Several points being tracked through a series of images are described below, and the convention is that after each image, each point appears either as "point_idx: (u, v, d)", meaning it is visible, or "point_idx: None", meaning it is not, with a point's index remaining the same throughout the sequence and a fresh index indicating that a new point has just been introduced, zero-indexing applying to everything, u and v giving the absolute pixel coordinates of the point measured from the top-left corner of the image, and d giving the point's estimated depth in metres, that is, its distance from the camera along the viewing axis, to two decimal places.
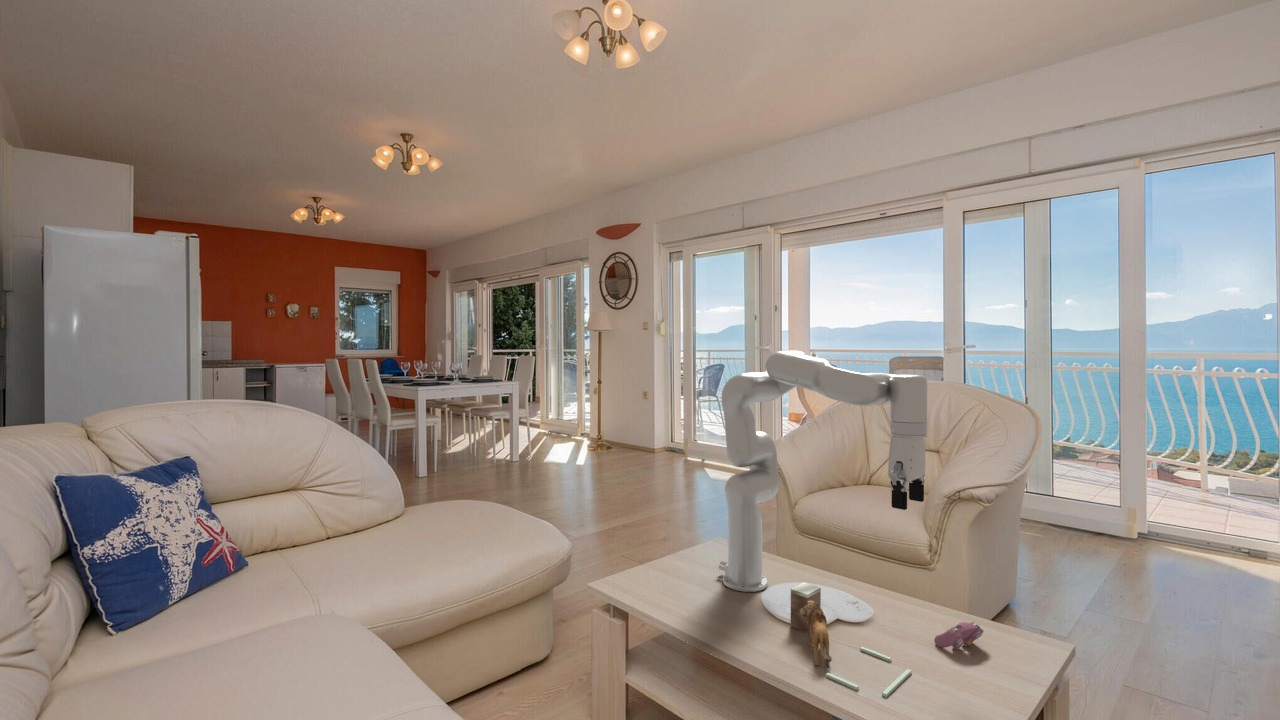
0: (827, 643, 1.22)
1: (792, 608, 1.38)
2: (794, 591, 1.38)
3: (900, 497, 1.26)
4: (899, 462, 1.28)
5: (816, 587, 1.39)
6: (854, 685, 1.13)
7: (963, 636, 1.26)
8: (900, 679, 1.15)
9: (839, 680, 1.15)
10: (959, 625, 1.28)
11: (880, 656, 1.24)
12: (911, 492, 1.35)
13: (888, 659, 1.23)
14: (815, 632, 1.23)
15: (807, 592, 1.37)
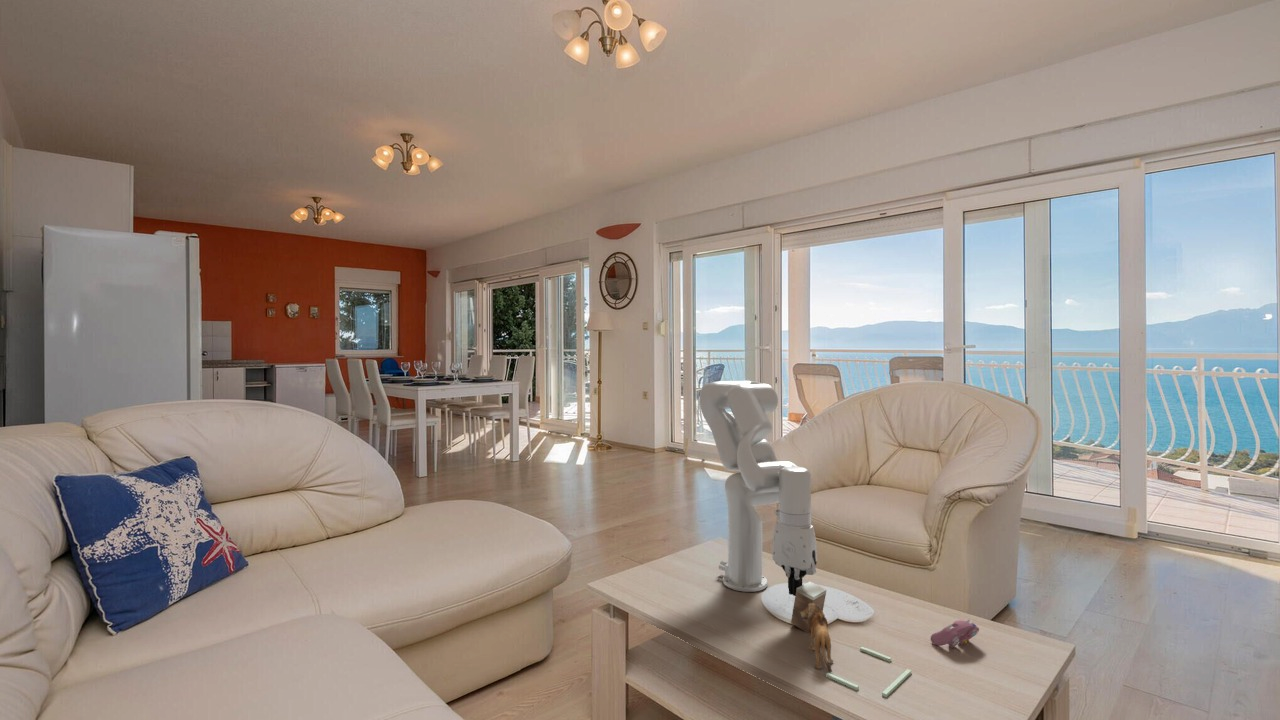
0: (829, 646, 1.21)
1: (795, 606, 1.38)
2: (800, 591, 1.37)
3: None
4: None
5: (822, 589, 1.38)
6: (854, 685, 1.13)
7: (959, 634, 1.27)
8: (900, 679, 1.15)
9: (839, 680, 1.15)
10: (955, 623, 1.28)
11: (880, 656, 1.24)
12: None
13: (888, 659, 1.23)
14: (817, 635, 1.22)
15: (813, 594, 1.35)
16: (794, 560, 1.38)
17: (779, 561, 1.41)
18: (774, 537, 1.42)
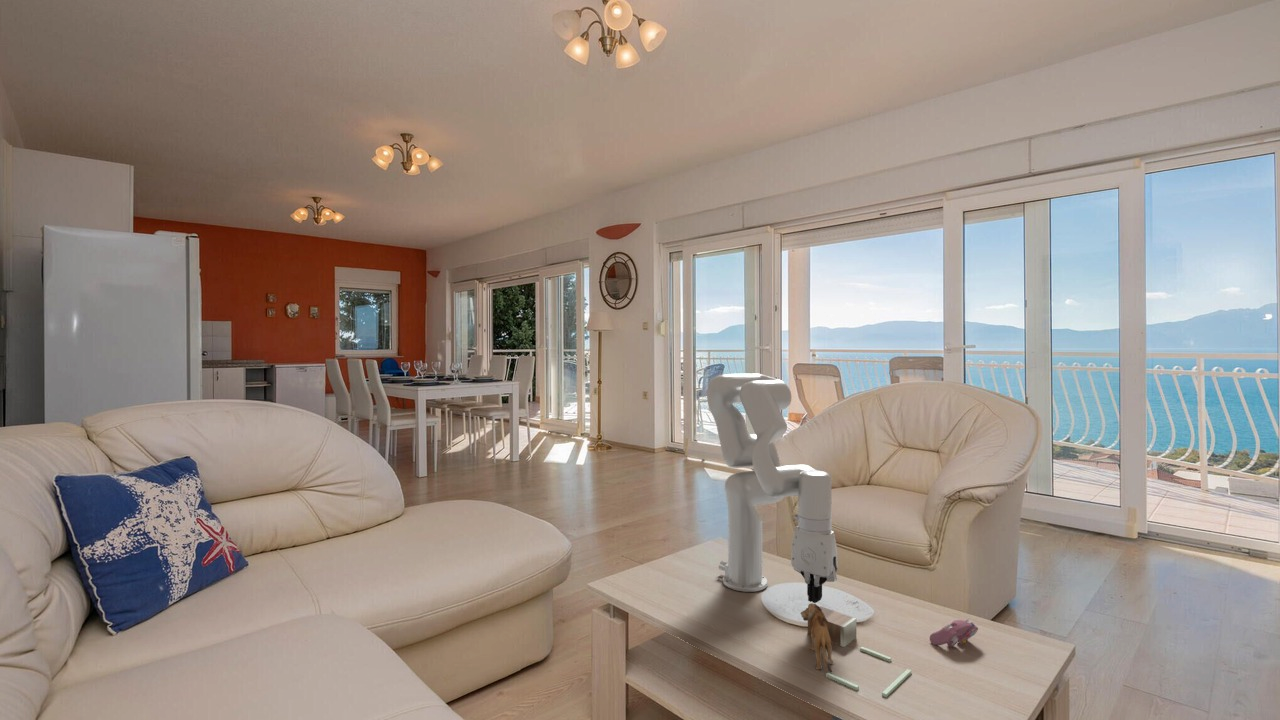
0: (829, 647, 1.21)
1: None
2: (842, 631, 1.29)
3: (821, 589, 1.37)
4: None
5: (854, 636, 1.32)
6: (854, 685, 1.13)
7: (958, 634, 1.27)
8: (900, 679, 1.15)
9: (839, 680, 1.15)
10: (954, 623, 1.29)
11: (880, 656, 1.24)
12: None
13: (888, 659, 1.23)
14: (817, 636, 1.22)
15: (846, 642, 1.30)
16: (814, 567, 1.34)
17: (798, 567, 1.37)
18: (793, 543, 1.38)
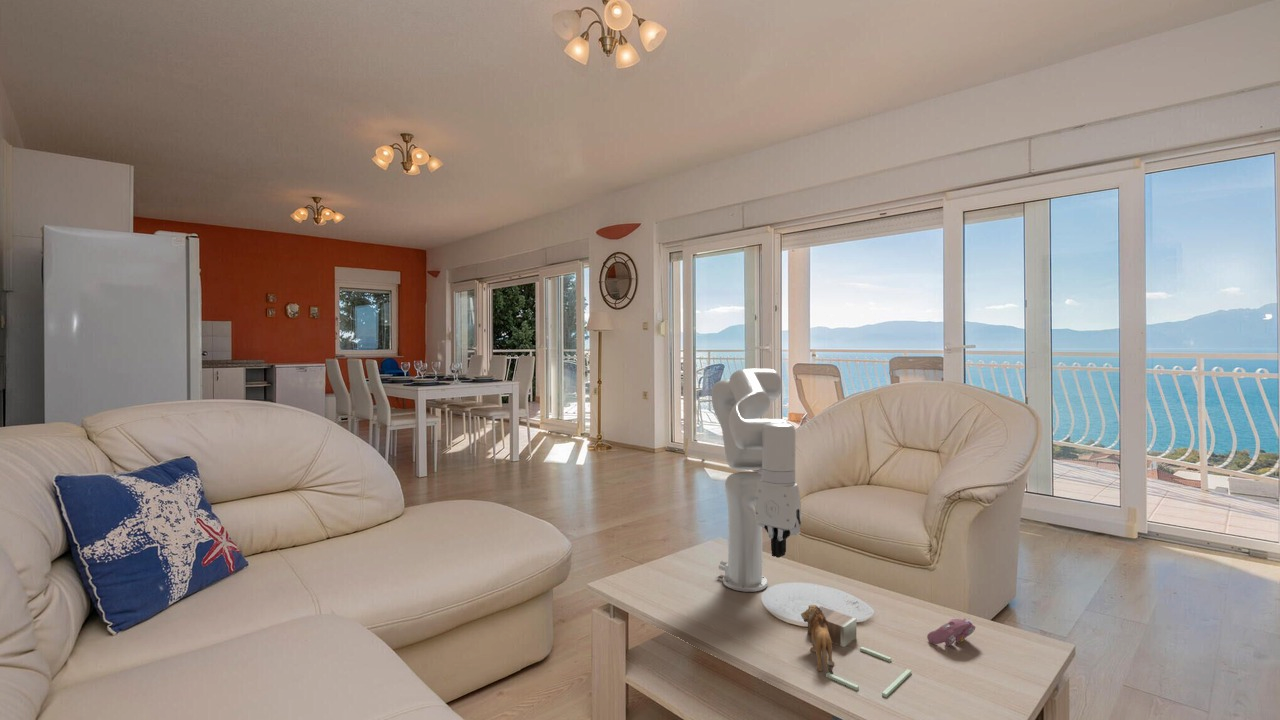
0: (830, 648, 1.20)
1: None
2: (842, 631, 1.29)
3: (785, 544, 1.33)
4: None
5: (854, 636, 1.32)
6: (854, 685, 1.13)
7: (955, 632, 1.28)
8: (900, 679, 1.15)
9: (839, 680, 1.15)
10: (951, 622, 1.29)
11: (880, 656, 1.24)
12: None
13: (888, 659, 1.23)
14: (818, 637, 1.21)
15: (846, 642, 1.30)
16: (777, 520, 1.31)
17: (762, 521, 1.34)
18: (756, 497, 1.35)
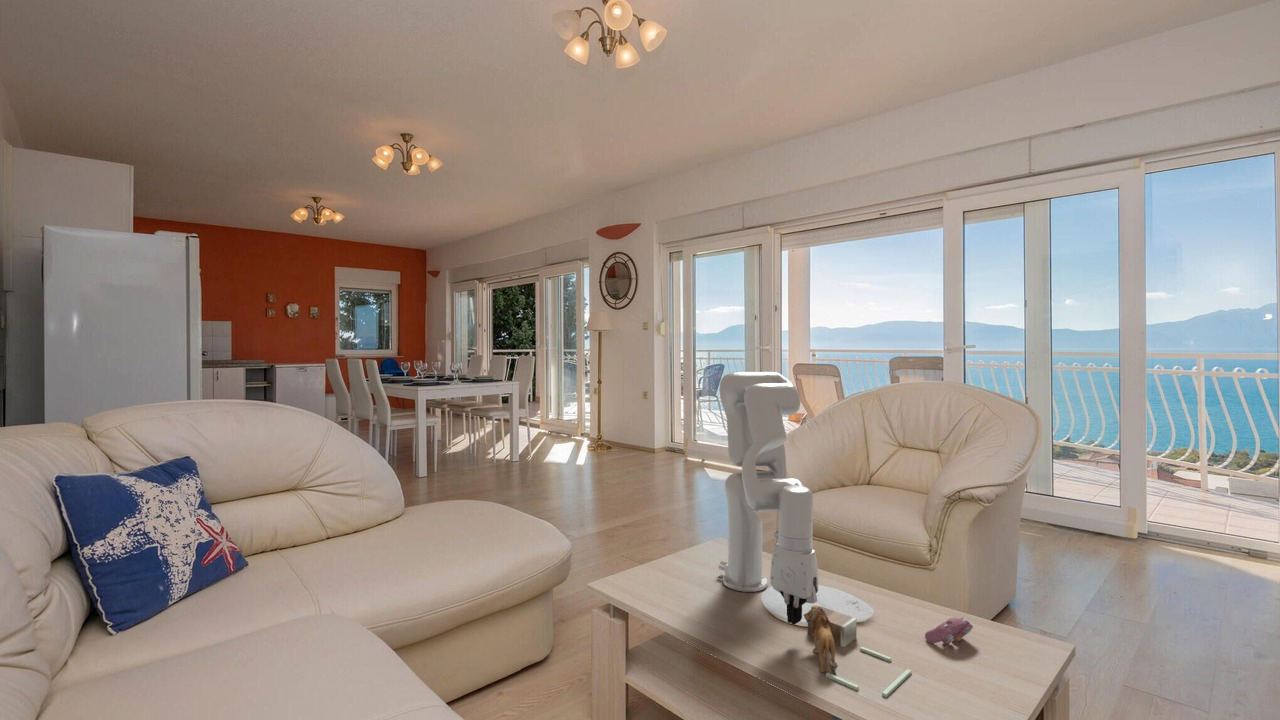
0: (833, 649, 1.20)
1: None
2: (842, 631, 1.29)
3: (801, 610, 1.31)
4: None
5: (854, 636, 1.32)
6: (854, 685, 1.13)
7: (953, 632, 1.28)
8: (900, 679, 1.15)
9: (839, 680, 1.15)
10: (949, 621, 1.30)
11: (880, 656, 1.24)
12: None
13: (888, 659, 1.23)
14: (821, 638, 1.21)
15: (846, 642, 1.30)
16: (793, 587, 1.28)
17: (777, 587, 1.31)
18: (772, 561, 1.32)
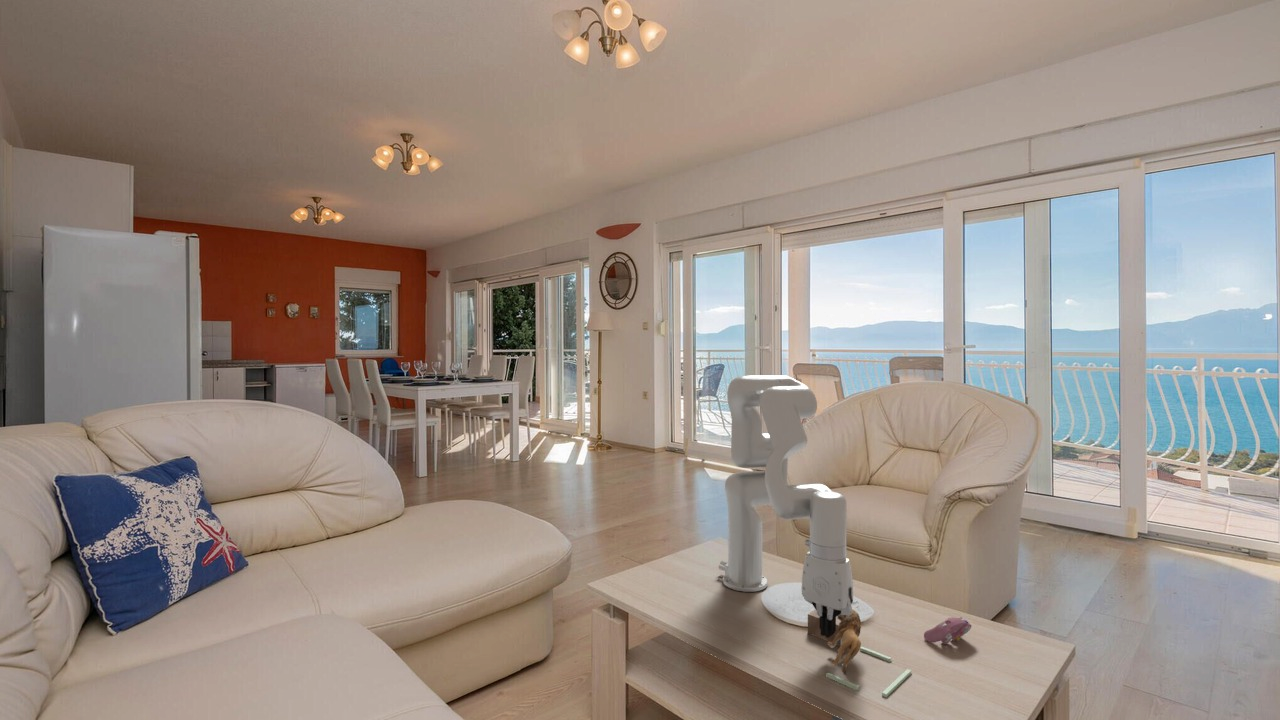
0: (854, 654, 1.18)
1: None
2: None
3: (835, 623, 1.25)
4: None
5: None
6: (854, 685, 1.13)
7: (952, 631, 1.28)
8: (900, 679, 1.15)
9: (839, 680, 1.15)
10: (948, 620, 1.30)
11: (880, 656, 1.24)
12: None
13: (888, 659, 1.23)
14: (850, 638, 1.19)
15: None
16: (827, 598, 1.22)
17: (810, 598, 1.25)
18: (803, 571, 1.26)
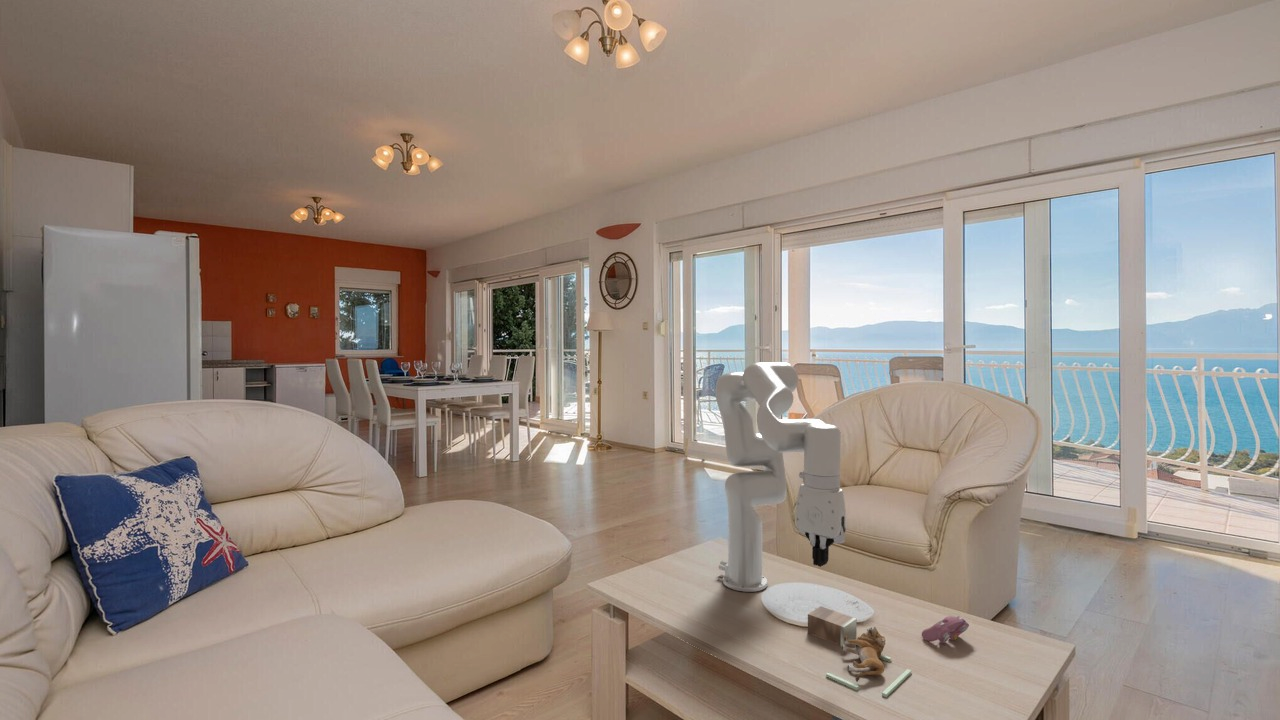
0: (870, 674, 1.17)
1: (825, 622, 1.32)
2: (842, 631, 1.29)
3: (828, 552, 1.26)
4: None
5: (854, 636, 1.32)
6: (854, 685, 1.13)
7: (949, 630, 1.29)
8: (900, 679, 1.15)
9: (839, 680, 1.15)
10: (945, 619, 1.30)
11: (880, 656, 1.24)
12: None
13: (888, 659, 1.23)
14: (881, 664, 1.17)
15: None
16: (821, 527, 1.23)
17: (803, 528, 1.26)
18: (797, 502, 1.27)
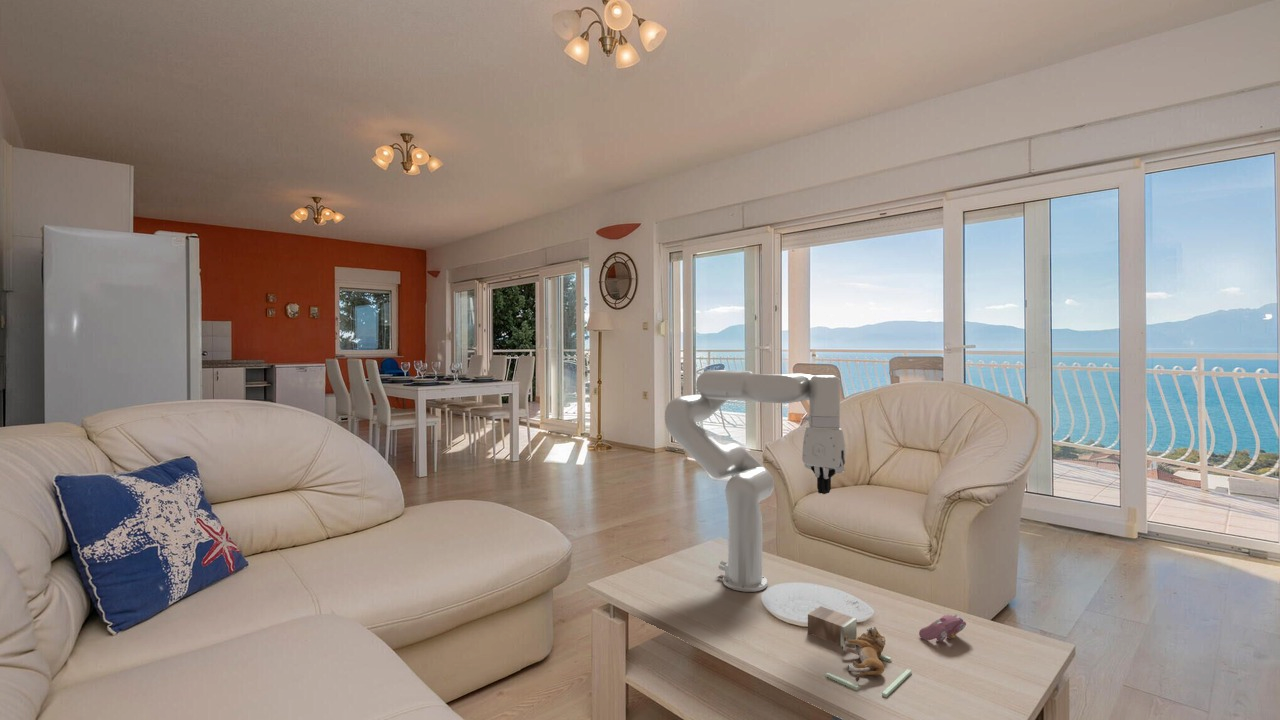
0: (870, 674, 1.17)
1: (825, 622, 1.32)
2: (842, 631, 1.29)
3: (830, 482, 1.50)
4: None
5: (855, 636, 1.32)
6: (854, 685, 1.13)
7: (947, 629, 1.29)
8: (900, 679, 1.15)
9: (839, 680, 1.15)
10: (943, 618, 1.31)
11: (880, 656, 1.24)
12: None
13: (888, 659, 1.23)
14: (881, 664, 1.17)
15: None
16: (824, 460, 1.47)
17: (809, 462, 1.50)
18: (804, 441, 1.52)
